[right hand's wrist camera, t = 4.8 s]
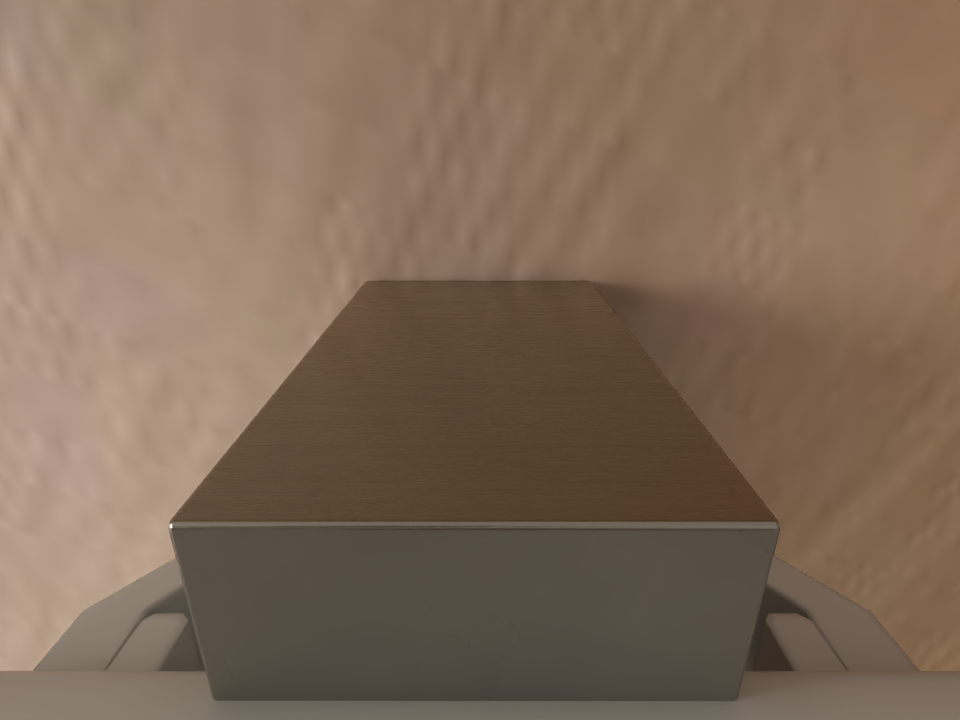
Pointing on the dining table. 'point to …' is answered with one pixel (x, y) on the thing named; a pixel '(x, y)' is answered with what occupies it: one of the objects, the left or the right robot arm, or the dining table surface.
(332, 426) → the bar
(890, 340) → the dining table surface
